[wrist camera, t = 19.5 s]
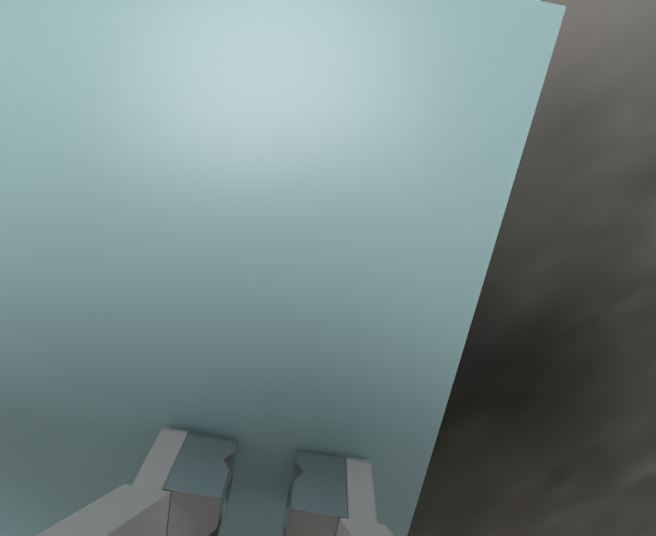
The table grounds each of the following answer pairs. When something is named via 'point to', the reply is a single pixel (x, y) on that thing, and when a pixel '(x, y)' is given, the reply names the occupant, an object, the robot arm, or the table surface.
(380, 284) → the light blue flat panel
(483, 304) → the table surface
